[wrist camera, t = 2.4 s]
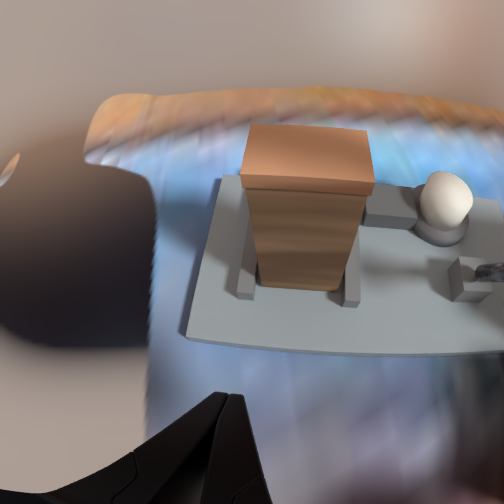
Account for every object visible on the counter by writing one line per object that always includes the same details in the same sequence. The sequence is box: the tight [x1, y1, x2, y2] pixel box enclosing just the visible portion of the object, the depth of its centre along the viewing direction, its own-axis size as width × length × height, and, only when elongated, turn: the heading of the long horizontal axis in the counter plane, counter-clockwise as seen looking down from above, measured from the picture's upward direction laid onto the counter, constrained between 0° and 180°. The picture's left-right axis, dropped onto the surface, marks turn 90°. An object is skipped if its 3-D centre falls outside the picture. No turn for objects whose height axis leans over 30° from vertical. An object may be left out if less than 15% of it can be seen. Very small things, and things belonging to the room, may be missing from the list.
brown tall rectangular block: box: [240, 124, 375, 292], centre depth 17 cm, size 3×5×11 cm, turn 82°
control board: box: [185, 171, 504, 357], centre depth 21 cm, size 14×26×4 cm, turn 82°
